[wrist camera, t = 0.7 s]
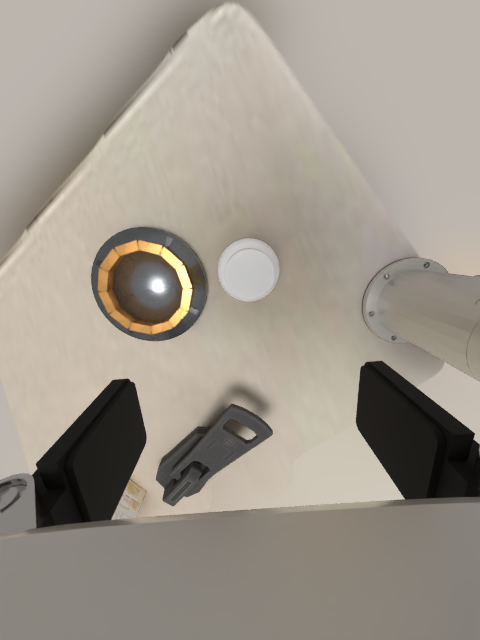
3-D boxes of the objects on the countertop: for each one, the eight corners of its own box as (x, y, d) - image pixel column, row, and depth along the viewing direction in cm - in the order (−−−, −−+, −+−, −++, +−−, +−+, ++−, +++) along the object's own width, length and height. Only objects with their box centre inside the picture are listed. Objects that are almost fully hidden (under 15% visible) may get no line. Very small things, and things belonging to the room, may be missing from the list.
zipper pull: (280, 434, 35) (183, 528, 41) (273, 405, 41) (191, 490, 47) (231, 401, 33) (138, 505, 39) (232, 377, 40) (152, 469, 45)
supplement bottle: (213, 261, 34) (197, 269, 22) (249, 229, 33) (255, 219, 20) (243, 296, 36) (244, 323, 23) (278, 267, 34) (300, 279, 22)
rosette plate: (184, 212, 32) (178, 208, 29) (221, 321, 37) (220, 327, 34) (77, 248, 34) (62, 248, 31) (125, 349, 38) (116, 357, 35)
